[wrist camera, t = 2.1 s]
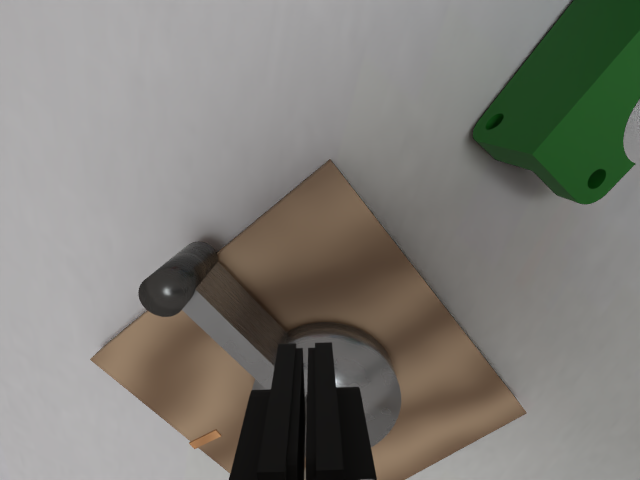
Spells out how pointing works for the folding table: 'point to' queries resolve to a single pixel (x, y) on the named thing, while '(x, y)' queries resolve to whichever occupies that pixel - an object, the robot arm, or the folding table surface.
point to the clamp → (572, 102)
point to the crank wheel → (270, 333)
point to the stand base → (312, 307)
